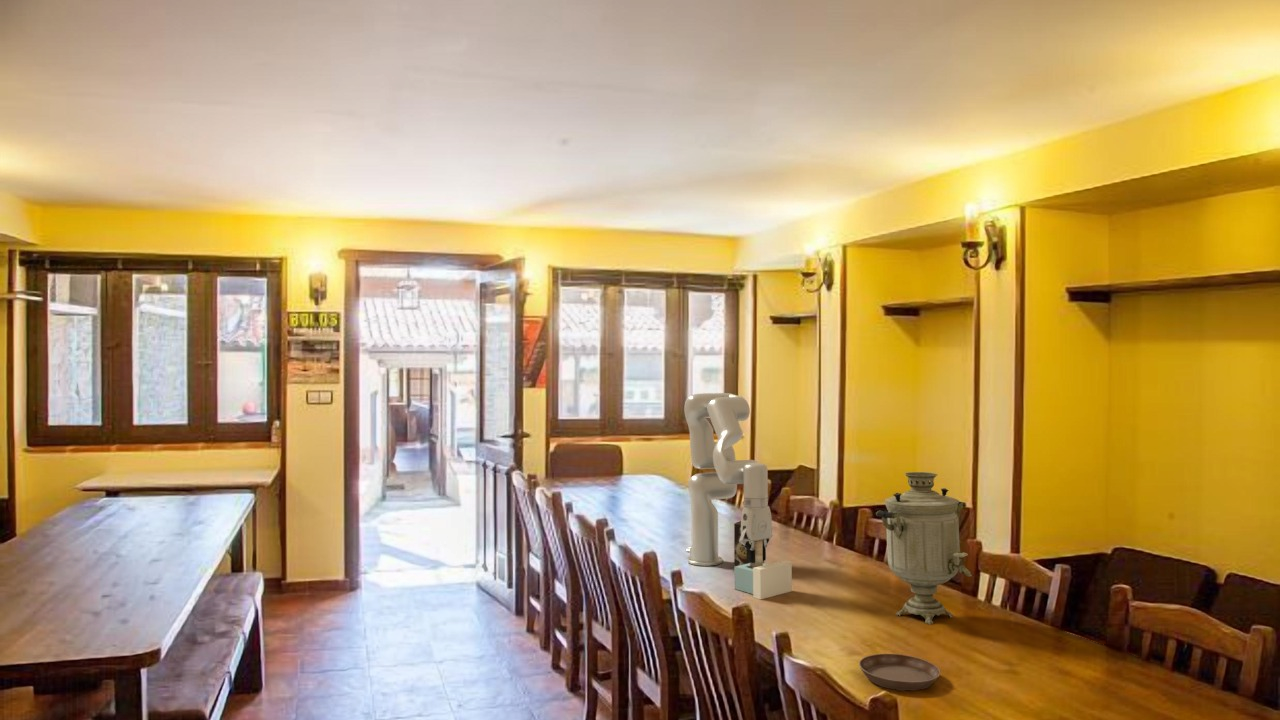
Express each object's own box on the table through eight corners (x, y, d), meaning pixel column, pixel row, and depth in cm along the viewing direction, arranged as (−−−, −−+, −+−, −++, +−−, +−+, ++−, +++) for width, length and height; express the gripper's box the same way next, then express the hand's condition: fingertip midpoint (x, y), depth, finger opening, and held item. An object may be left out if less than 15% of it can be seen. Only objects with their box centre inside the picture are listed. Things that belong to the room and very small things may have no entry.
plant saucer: (923, 665, 206) (923, 652, 206) (952, 694, 189) (952, 680, 189) (850, 666, 206) (849, 653, 206) (872, 695, 188) (872, 681, 188)
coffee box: (733, 570, 296) (733, 523, 296) (740, 566, 302) (740, 520, 301) (758, 573, 292) (758, 525, 291) (765, 569, 297) (765, 522, 297)
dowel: (747, 570, 272) (747, 538, 272) (756, 568, 275) (755, 536, 275) (756, 572, 269) (756, 540, 269) (765, 570, 272) (765, 538, 272)
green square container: (734, 588, 273) (734, 566, 272) (756, 583, 279) (756, 561, 279) (757, 595, 265) (757, 572, 265) (780, 589, 271) (780, 567, 271)
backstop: (753, 597, 263) (753, 567, 263) (784, 589, 272) (784, 560, 272) (760, 599, 261) (760, 569, 261) (791, 591, 270) (791, 562, 270)
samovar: (907, 638, 225) (907, 484, 224) (856, 609, 250) (855, 471, 250) (1005, 628, 233) (1005, 479, 232) (946, 601, 258) (945, 467, 258)
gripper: (745, 507, 264) (746, 567, 264) (782, 501, 274) (783, 559, 274) (728, 504, 270) (728, 563, 270) (765, 498, 280) (765, 555, 280)
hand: (756, 560), depth 272 cm, fingers closed on dowel, 4 cm apart
